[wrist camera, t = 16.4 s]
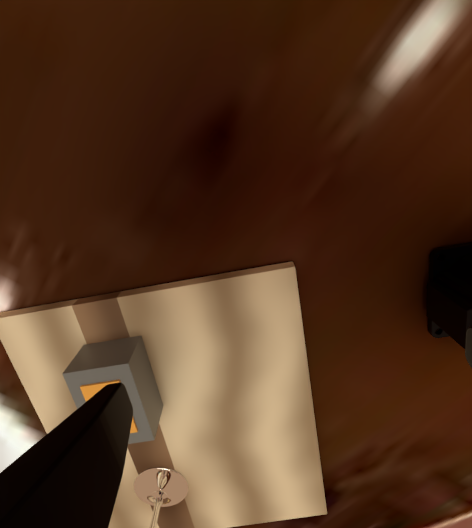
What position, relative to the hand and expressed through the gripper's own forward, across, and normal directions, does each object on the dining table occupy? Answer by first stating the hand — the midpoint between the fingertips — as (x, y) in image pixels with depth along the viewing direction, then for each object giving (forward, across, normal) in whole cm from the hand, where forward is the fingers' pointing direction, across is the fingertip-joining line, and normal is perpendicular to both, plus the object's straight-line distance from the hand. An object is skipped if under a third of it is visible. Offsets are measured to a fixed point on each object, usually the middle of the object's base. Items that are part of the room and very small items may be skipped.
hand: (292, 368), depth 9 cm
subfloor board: (+13, +8, +14) cm, 20 cm away
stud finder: (+12, +11, +8) cm, 18 cm away
